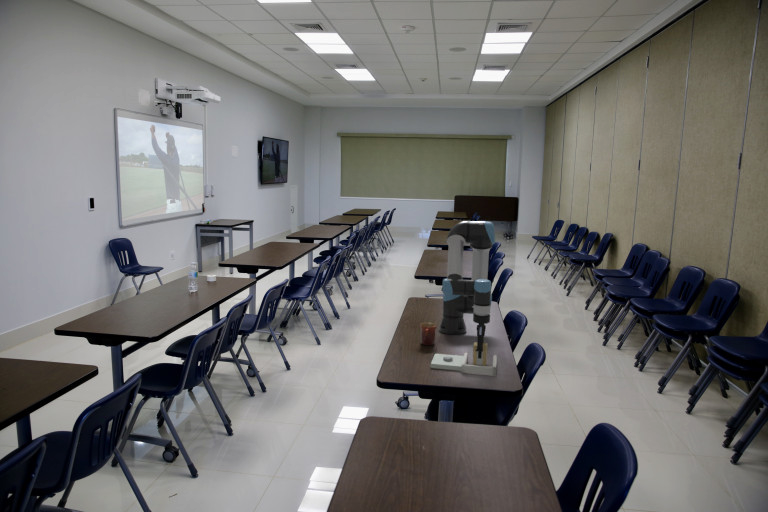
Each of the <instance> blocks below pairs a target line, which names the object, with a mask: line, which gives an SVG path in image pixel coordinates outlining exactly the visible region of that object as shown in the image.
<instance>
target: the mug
mask: <svg viewBox="0 0 768 512" xmlns="http://www.w3.org/2000/svg"><path fill="white" fill-rule="evenodd" d="M419 327H420V343H421V344H422V345H423V346H433V345H434V344H435V342H436V329H437V324H436V323H435V322H422V323H420V324H419Z"/></svg>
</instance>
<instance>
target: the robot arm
mask: <svg viewBox="0 0 768 512" xmlns="http://www.w3.org/2000/svg"><path fill="white" fill-rule="evenodd" d="M495 234H496V233H495V226H494V223H493V222H492V221H486V220H483V221H482V220H477V221H475V220H472V221H471V220H464V221H460V222H457V223H456V224H455V225H453V226H452V227H451V228H450V230H449V231H448V234H447V238H446V245H448V251H447V271H446V273H447V274H446V278H443V279H442V286H441V287H442V292H441V293H442V294H443V297H442V318H441V321H440V323H439V326H438V327H439V332H441V333H442V334H445V335H446V334H448V335H462V334H465V333H466V332H467V326H466V322H465V319H464V314H465V315H466V314H467V315H469V314H470V315H471V314H472V315H473V316H472V318H473V319H472V321H473V322H474V323H475V324H476V336H477V339H476V340H477V341H476V342H477V350H476V351H477V365H478V366H484V365H483V343H485V342H484V341H485V334H486V329H487V328H486V327H487V324H489V323H490V321H491V309H492V308H491V307H492V302H493V295H492V282H491V280H489V279H488V274H489V273H488V272H489V257H490V255H489V254H490V250H491V249H492V248H493V245H495V244H496V235H495ZM465 244H469V247H470V248H471V249H472V256H471V257H472V260H471V278H470V279H464V277H463V275H464V274H463V273H464V246H465Z"/></svg>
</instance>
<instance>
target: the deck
mask: <svg viewBox="0 0 768 512" xmlns="http://www.w3.org/2000/svg"><path fill="white" fill-rule="evenodd" d="M468 357H469V352H464V354H463V355H455V354H444V353H435V354H434V356H433V358H432V360H431V363H430V369H436V370H437V369H438V370H449V371H459V372H461V374H471V375H472V374H473V375H483V376H491V377H496V376H497V366H498V365H497V364H498V363H497V361H498V354H497V355H495V354H494V355H493V359H492V360H493V361H492V366H488V365H486V366H484V365H474V364H468V359H469V358H468Z"/></svg>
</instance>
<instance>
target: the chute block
mask: <svg viewBox="0 0 768 512" xmlns="http://www.w3.org/2000/svg"><path fill="white" fill-rule="evenodd" d="M472 350H473V351H472V353H473V354H472V365H477V351H476V350H477V341H476V342H473V349H472ZM487 359H488V343H487V342H484V343H483V365H482V366H487V362H488V360H487Z"/></svg>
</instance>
